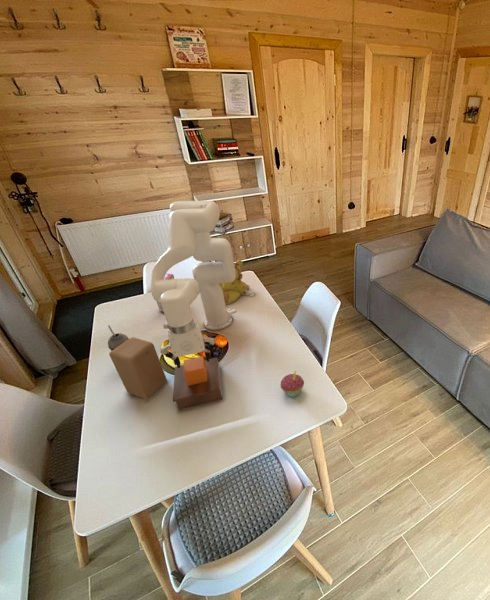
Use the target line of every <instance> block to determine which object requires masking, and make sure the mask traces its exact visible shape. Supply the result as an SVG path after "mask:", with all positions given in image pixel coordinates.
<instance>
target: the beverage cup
mask: <svg viewBox="0 0 490 600" xmlns="http://www.w3.org/2000/svg"><path fill="white" fill-rule="evenodd" d="M107 327H108V329H109V331H110V332H111V335H110V337H109V338H108V340H107V347H108V349H109V350H110V352H111V351H112V350H114V349H115V348H117V347H118V346H120V345H121V344H123V343H124V342H126V341H127V340H128V339H130V337H128V336H127V335H126V334H124V333H121V332H120V333H119V332H117V333H115V332H114V331H113V329H112V327H111V326H110V325H109V324H108V325H107Z"/></svg>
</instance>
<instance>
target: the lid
mask: <svg viewBox="0 0 490 600" xmlns="http://www.w3.org/2000/svg"><path fill="white" fill-rule="evenodd" d="M204 361H205V364H206V368H207V381H206V382H202V383H198V384H194V385H190V386H188V385H187V382H186V379H185V376H184V373H183V369H184V364H180V368H178V367H177V365H175V366H174V374H173V375H174V377H173V379H174V380H173V391H172V392H173V393H172V402H173V403H176V401H180V400H184V399H188V398H192V397H196V396H200V395H204V394H207V393H211V392H215V391H219V390H220V383H219V371H218V363H219V358H218V357H213V358H209V361H207V360H206V359H204Z"/></svg>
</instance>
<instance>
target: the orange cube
mask: <svg viewBox="0 0 490 600" xmlns="http://www.w3.org/2000/svg"><path fill="white" fill-rule="evenodd" d="M204 360H205V357H204V356H203V355H202V356H197V357H194V358H189V359H184V360H183V365H184V369H183V373H184V376H185V379H186V382H187V385H188V386H190V385H194V384H198V383H202V382H206V381H207V368H206V364H205V361H204Z"/></svg>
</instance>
